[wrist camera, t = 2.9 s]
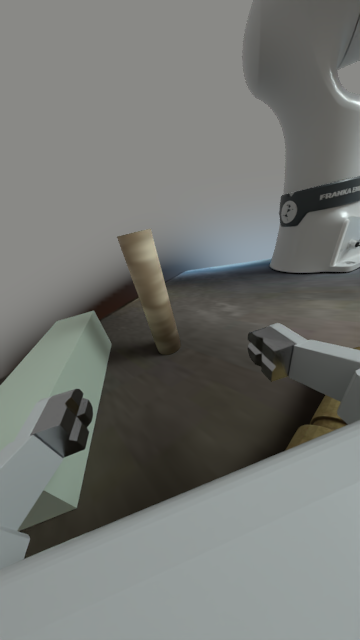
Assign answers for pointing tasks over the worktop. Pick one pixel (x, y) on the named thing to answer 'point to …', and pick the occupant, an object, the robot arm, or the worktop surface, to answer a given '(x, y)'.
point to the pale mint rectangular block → (51, 379)
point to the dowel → (151, 288)
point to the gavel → (320, 422)
